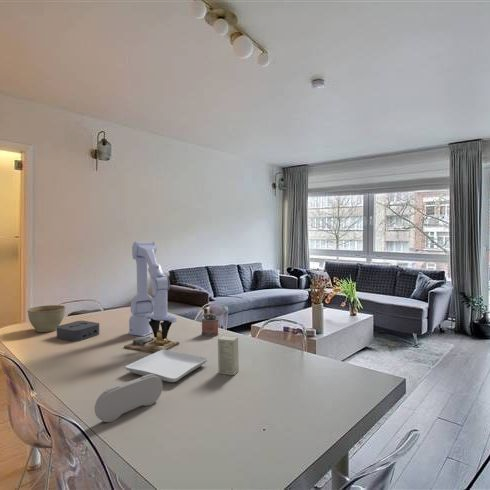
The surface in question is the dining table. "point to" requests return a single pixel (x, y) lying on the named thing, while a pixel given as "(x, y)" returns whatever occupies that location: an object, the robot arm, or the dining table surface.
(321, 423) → the dining table surface
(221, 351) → the skincare box
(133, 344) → the gear board
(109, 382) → the dining table surface
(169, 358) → the salad plate
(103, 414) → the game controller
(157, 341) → the brass gear
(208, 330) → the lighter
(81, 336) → the streaming box
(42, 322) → the planter bowl
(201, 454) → the dining table surface
